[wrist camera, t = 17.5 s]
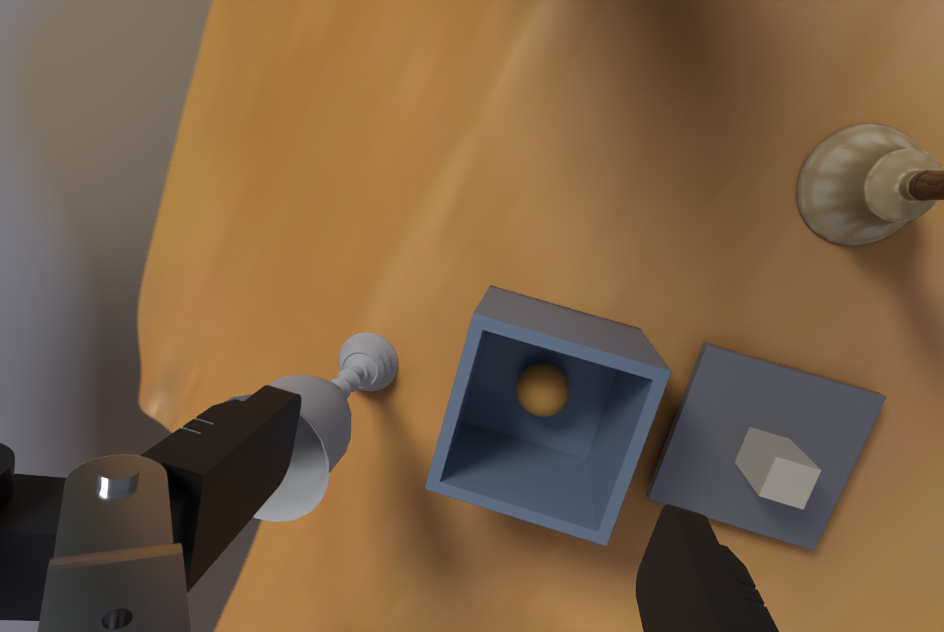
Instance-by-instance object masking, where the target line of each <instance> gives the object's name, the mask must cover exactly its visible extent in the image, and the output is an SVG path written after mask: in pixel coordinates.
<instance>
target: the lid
mask: <svg viewBox="0 0 944 632" xmlns="http://www.w3.org/2000/svg"><path fill="white" fill-rule="evenodd" d="M885 399H886V397H885V396H884V395H882V394H880V393H879V392H875V391H872V390H868V389H865V388H861V387H858V386H854V385H851V384H847V383H844V382H840V381H837V380H834V379H830V378H827V377H823V376H820V375H816V374H813V373H809V372H806V371H802V370H799V369H795V368H792V367H788V366H785V365H782V364H778V363H775V362H771V361H768V360H764V359H761V358H757V357H754V356H750V355H747V354H743V353H740V352H736V351H733V350H730V349H726V348H723V347H719V346H716V345H712V344H709V343H705V342H703V345H702V347H701V350H700V353H699V355H698V358H697V360H696V363H695V366H694V368H693V371H692V374H691V376H690V379H689V381H688V384H687V387H686V389H685V392H684V395H683V397H682V400H681V402H680V405H679V408H678V410H677V413H676V416H675V418H674V421H673V423H672V426H671V429H670V431H669V434H668V437H667V439H666V442H665V444H664V447H663V450H662V452H661V455H660V458H659V460H658V463H657V466H656V468H655V471H654V473H653V476H652V479H651V481H650V484H649V487H648V489H647V492H646V494H647V497H648V500H651V501H655V502H658V503H661V504H664V505H667V504H670V505H673V506H677V507H680V508H683V509H687V510H690V511H694V512H697V513H700V514H703V515H705V516H706V517H707V518H710V519H713V520H716V521H719V522H723V523H726V524H729V525H732V526H736V527H739V528H742V529H745V530H749V531H752V532H755V533H758V534H762V535H765V536H768V537H771V538H775V539H778V540H781V541H784V542H788V543H791V544H794V545H797V546H801V547H804V548H807V549H810V550H815V547H816V545H817V543H818V541H819V539H820V537H821V535H822V533H823V531H824V528H825V526H826V524H827V522H828V520H829V518H830V516H831V514H832V511H833V509H834V507H835V505H836V503H837V501H838V499H839V497H840V494H841V492H842V490H843V488H844V486H845V484H846V482H847V480H848V477H849V475H850V473H851V471H852V469H853V467H854V465H855V463H856V461H857V458H858V456H859V454H860V452H861V450H862V448H863V446H864V444H865V441H866V439H867V437H868V435H869V433H870V431H871V429H872V427H873V424H874V422H875V420H876V418H877V416H878V414H879V412H880V410H881V407H882V405H883V403H884V401H885Z"/></svg>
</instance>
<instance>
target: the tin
mask: <svg viewBox="0 0 944 632" xmlns="http://www.w3.org/2000/svg"><path fill="white" fill-rule="evenodd" d="M538 363H547V364H551V365H554V366H556V367H557V368H559V369H560V370H561V371H562V372H563V373H564V374H565V376H566V377H567V380H568V382H569V387H570V394H569V398H568V401H567V403H566V405H565V406H564V407H563V409H562V410H560V411H559V412H558V413H556V414H554V415H552V416H547V417H540V416H535V415H532V414H531V413H529V412H527V411H526V410H525V409H524V408H523V407H522V406H521V404H520V403H519V401H518V398H517V394H516V385H517V381H518V378H519V376H520V375H521V373H522V372H523V371H524V370H525V369H526V368H528V367H529V366H531V365H534V364H538ZM670 373H671V370H670V369H669V367H668V366H667V365H666V363H665V362H664V360H663V359H662V358H661V356H660V355H659V354H658V352H657V351H656V349H655V348H654V347H653V345H652V344H651V343H650V341H649V340H648V339H647V337H646V336H645V334H644V333H643V332H642V330H641V329H640V328H636V327H633V326H629V325H626V324H622V323H619V322H615V321H612V320H608V319H605V318H601V317H598V316H594V315H591V314H588V313H584V312H581V311H577V310H574V309H570V308H567V307H563V306H560V305H556V304H553V303H549V302H546V301H542V300H539V299H535V298H532V297H529V296H525V295H522V294H518V293H515V292H511V291H508V290H504V289H501V288H497V287H494V286H490V287H489V288H488V290H487V292H486V293H485V295H484V297H483V298H482V300H481V302H480V303H479V305H478V306H477V308H476V310H475V311H474V313H473V316H472V320H471V323H470V327H469V330H468V334H467V338H466V341H465V345H464V349H463V352H462V356H461V359H460V363H459V367H458V370H457V374H456V377H455V381H454V385H453V388H452V392H451V396H450V399H449V403H448V406H447V410H446V414H445V417H444V421H443V424H442V428H441V432H440V435H439V439H438V443H437V446H436V450H435V453H434V457H433V461H432V464H431V468H430V471H429V475H428V479H427V482H426V486H425V489H426V490H429V491H432V492H436V493H439V494H442V495H445V496H448V497H452V498H455V499H458V500H461V501H464V502H467V503H471V504H474V505H477V506H480V507H483V508H487V509H490V510H493V511H496V512H499V513H502V514H506V515H509V516H512V517H515V518H518V519H522V520H525V521H528V522H531V523H534V524H537V525H541V526H544V527H547V528H550V529H553V530H556V531H560V532H563V533H566V534H569V535H572V536H576V537H579V538H582V539H585V540H588V541H591V542H595V543H598V544H601V545H604V546H607V544H608V541H609V538H610V536H611V533H612V530H613V527H614V525H615V522H616V519H617V517H618V514H619V511H620V509H621V506H622V503H623V500H624V498H625V495H626V492H627V490H628V487H629V484H630V482H631V479H632V476H633V473H634V471H635V468H636V465H637V463H638V460H639V457H640V455H641V452H642V449H643V446H644V444H645V441H646V438H647V436H648V433H649V430H650V428H651V425H652V422H653V419H654V417H655V414H656V411H657V409H658V406H659V403H660V401H661V398H662V395H663V392H664V390H665V387H666V384H667V382H668V379H669V376H670Z"/></svg>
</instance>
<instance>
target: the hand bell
mask: <svg viewBox="0 0 944 632" xmlns="http://www.w3.org/2000/svg"><path fill="white" fill-rule="evenodd" d="M937 200H944V171H942V168H941V166H940V164H939V162H938V161H937V160H936V159H935V158H934V157H933V156H932V155H930V154H929V153H927V152H925V151H922V150H919V148H918V147H917V146H916V144H915V143H914V142H913V141H912V140H911V139H910V138H909V137H908V136H906V135H905V134H903V133H902V132H900V131H899V130H897V129H894V128H892V127H889V126H885V125H880V124H860V125H855V126H851V127H848V128H845V129H842V130H840V131H838V132H836V133H834V134H832V135H831V136H829V137H828V138H826V139H825V140H823V141H822V142H821V143H820V144H819V145H818V146H817V147H816V148H815V149H814V150H813V152H812V153H811V154H810V155H809V157H808V158H807V160H806V161H805V163H804V165H803V167H802V169H801V172H800V175H799V179H798V183H797V203H798V207H799V211H800V213H801V215H802V217H803V219H804V221H805V222H806V224H807V225H808V226H809V228H810V229H812V230H813V232H815V234H817V235H818V236H820V237H822V238H824V239H825V240H828V241H830V242H833V243H836V244H840V245H847V246H858V245H866V244H870V243H874V242H877V241H879V240H882V239H884V238H886V237H888V236H890V235H891V234H893V233H894V232H896V231H897V230H899V229H900V228H901V227H902V226H903V225H905V224H906V223H907V222H908V221H909V220H912V219H915V218H917V217H919V216H921V215H923V214H924V213H926V212H927V211H928V210H929V209H930V208H931V207H932V206H933V205H934V204H935V203H936V201H937Z"/></svg>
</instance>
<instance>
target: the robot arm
mask: <svg viewBox="0 0 944 632" xmlns="http://www.w3.org/2000/svg"><path fill="white" fill-rule="evenodd" d="M301 403H302V399H301V395H300V394H297V393H293V392H290V391H287V390H283V389H280V388H276V387H273V386H270V385H265V386H264V387H262V388H261V389H260V390H258V391H257V392H256V393H254V394H253V395H251V396H250V397H249V398H247V399H246V400H245V401H240V400H237V399H234V400H231V401H227V402H224V403H220V404H217V405H214V406H212V407H210V408H209V409H207V410H206V411H204V412H203V413H201V414H200V415H198V416H197V417H196V419H193V420H191V421H190V422H188V423H187V424H185V425H184V426H183V428H182V429H181V428H180V429H178V430H177V431H175V432H174V433H172V434H171V435H170V436H168V437H167V438H165V439H164V440H162V441H161V442H160V443H158V444H157V445H155V446H153V447H152V448H151V449H149V450H148V451H146V452H145V453H143V454H142V455H140V456H136V455H112V456H111V455H110V456H105V457H100V458H96V459H93V460H90V461H87V462H85V463H83V464H81V465H79V466H78V467H76V468H75V469H74V470H72V471H71V472H70V473H69V475H68V476H67V478H60V477H48V476H36V475H24V474H14V467H15V455H14V452H13V451H12V450H11V449H10V448H9V447H8V446H6V445H4V444H1V443H0V620H25V621H39V626H38V632H191V624H190V614H189V606H188V597H187V593H188V592H189V591H190V589H191V588H192V587H193V586H194V585H195V584H196V582H197V581H198V580H199V579H200V578H201V577H202V575H203V574H204V573H205V572H206V571H207V570H208V568H209V567H210V566H211V565H212V564H213V563H214V562H215V560H216V559H217V558H218V557H219V555H220V554H221V553H222V552H223V551H224V550H225V549H226V548H227V546H228V545H229V544H230V543H231V542H232V541H233V539H234V538H235V537H236V536H237V535H238V534H239V532H240V531H241V530H242V529H243V528H244V527H245V526H246V524H247V523H248V522H249V521H250V520H251V519H252V517H253V516H254V515H255V514H256V513H257V512H258V510H259V509H260V508H261V507H262V506H263V505H264V503H265V502H266V501H267V500H268V499H269V498H270V496H271V495H272V494H273V493H274V492H275V491H276V490H277V488H278V487H279V486H280V484H281V483H282V481H283V479H284V477H285V475H286V473H287V471H288V468H289V465H290V462H291V457H292V452H293V447H294V442H295V436H296V431H297V426H298V420H299V415H300V410H301ZM755 587H756V586H755V584H754V582H753V580H752V578H751V576H750V574H749V572H748V570H747V568H746V566H745V565H744V564H743V563H742V562H741V561H740V560H739V559H738V558H737V557H736V556H735V555H734V554H733V553H732V551H731V550H730V549H729V548H728V547H727V546H724V545H720V544H719V543H718V540H717V538H716V536H715V534H714V532H713V530H712V528H711V526H710V523H709V521H708V519H707V517H706V516H705V515H703V514H700V513H697V512H694V511H690V510H687V509H683V508H680V507H677V506H673V505H670V504H667V505H666V506H665V507H664V508H663V509H662V511H661V513H660V515H659V518H658V520H657V523H656V526H655V528H654V531H653V533H652V536H651V538H650V541H649V543H648V546H647V548H646V551H645V553H644V556H643V558H642V561H641V564H640V566H639V570H638V574H637V580H636V598H637V603H638V608H639V612H640V617H641V622H642V626H643V631H644V632H779V631H778V629H777V627H776V625H775V623H774V621H773V619H772V617H771V615H770V613H769V611H768V609H767V607H764V602H763V600H762V598H761V596H760V594H759V592H758V590H755Z"/></svg>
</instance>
